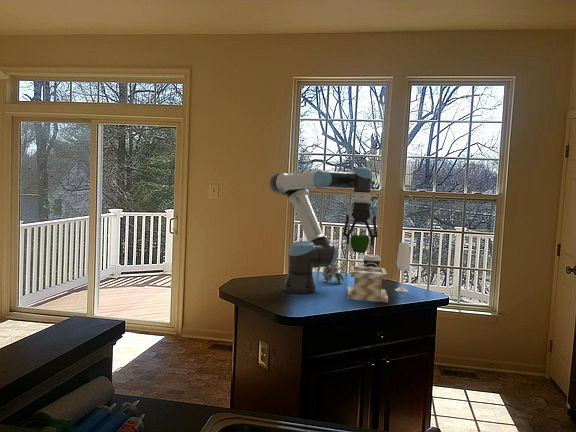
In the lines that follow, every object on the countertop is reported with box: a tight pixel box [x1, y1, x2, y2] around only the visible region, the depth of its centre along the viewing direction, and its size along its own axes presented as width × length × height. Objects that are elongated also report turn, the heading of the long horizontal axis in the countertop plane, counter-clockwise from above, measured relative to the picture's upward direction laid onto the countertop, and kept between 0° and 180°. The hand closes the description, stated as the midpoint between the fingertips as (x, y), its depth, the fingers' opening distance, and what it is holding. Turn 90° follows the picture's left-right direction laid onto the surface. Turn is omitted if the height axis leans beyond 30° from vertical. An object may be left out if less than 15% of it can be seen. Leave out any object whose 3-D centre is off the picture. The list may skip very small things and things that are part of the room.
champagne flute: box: [394, 242, 411, 293], centre depth 232 cm, size 7×7×24 cm
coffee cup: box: [362, 254, 382, 268], centre depth 246 cm, size 10×10×15 cm
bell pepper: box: [350, 230, 370, 254], centre depth 209 cm, size 8×8×10 cm
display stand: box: [346, 265, 389, 303], centre depth 216 cm, size 18×18×12 cm
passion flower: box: [321, 262, 348, 285], centre depth 245 cm, size 11×11×12 cm
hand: (359, 251), depth 209 cm, fingers closed on bell pepper, 8 cm apart
